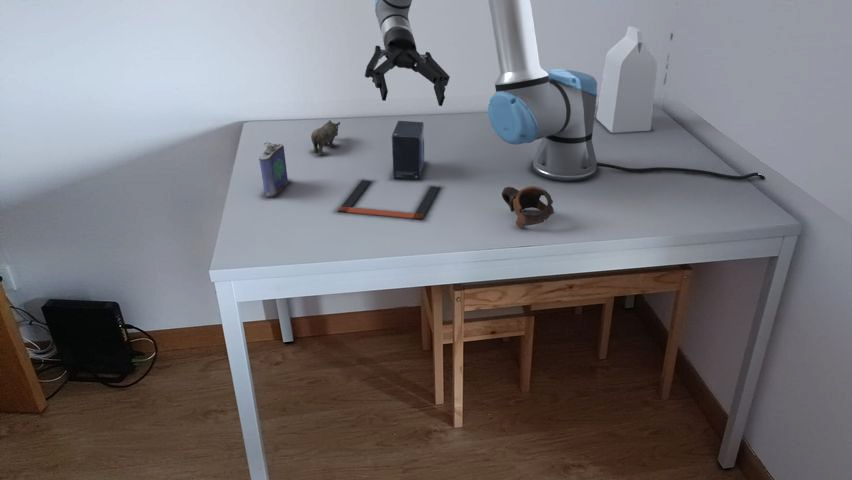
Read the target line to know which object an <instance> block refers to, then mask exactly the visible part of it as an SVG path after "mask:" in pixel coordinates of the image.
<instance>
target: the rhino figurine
mask: <svg viewBox="0 0 852 480" xmlns="http://www.w3.org/2000/svg"><path fill="white" fill-rule="evenodd" d="M339 125H341V121H338V122H336V123H335V122H333V121H332V120H331V119H329V120H328V121H327V122H326V123H324V124H323V125H322V126H321V127H319V128H316V129H314V130H313V131H312V132H311V134H310V135H311V136H310V139H311V143H312V144H313V153H317V156H325V152H323V149H324V146H329V147H330V148H335V147H336V145H335V144H334V140H335V138H336V137H337V136H339Z"/></svg>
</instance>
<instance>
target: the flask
mask: <svg viewBox="0 0 852 480" xmlns="http://www.w3.org/2000/svg"><path fill="white" fill-rule="evenodd" d="M263 145H265V146H266V147H265V150H264V151H263V152H262V153H261V155H259V158H258V160H259V166H260V172H261V179H262V185H263V191H264V192H263V193H264V197H266V198H273V197H275V196H277V195H278V193H280V192H281V191H282V190H283V188H284V187H285V186H287V185H288V184H289V179H288V178H289V177H288V171H287V162H286V154H285V146H284V144H283V143H271V142H270V141H266V142H265V141H264V144H263Z"/></svg>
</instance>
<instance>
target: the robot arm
mask: <svg viewBox="0 0 852 480" xmlns="http://www.w3.org/2000/svg"><path fill="white" fill-rule="evenodd" d="M487 1H488V7H489V12H490V13H489V14H490V20H491V25H492V32H493V37H494V38H493V39H494V44H495V48H496V49H495V50H496V56H497V64H498V69H499V76H498V77H497V79H496V80H495V82H494V87H495V93H493V95H492V96H491V98H490V99H489V103H488V106H487V115H488V120H489V122H490V125H491V127H492V129H493V131H494V132H495V133H496V135H497V136H499V137H500V139H501V140H502V141H504V142H505V143H507V144H509V145H516V146H518V145H522V144H530V143H533V142H535V141H536V140H537V141H538V140H540V142H539V144H538V146H537V149H536V152H535V155H534V156H533V160H532V169H533V171H534V172H535V173H536V174H538V175H539V176H540V177H543V178H546V179H549V180H553V181H559V182H579V181H584V180H589V179H590V178H592V177H594V176H595V175H596V173H597V170H598V169H597V167H602V168H609V169H614V170H618V171H623V172H631V173H643V172H644V173H645V172H660V171H661V172H663V171H665V172H681V173H682V172H684V173H693V174H700V175H701V174H702V175H708V176H713V177H717V178H723V179H729V180H746V179H749V178H753V177H759V178H760V179H762V180H766V177H765V176H764V175H763V174H762V175H763V176H762V175H758V173H759V172H751V173H748V174H744V175H731V174H725V173H720V172H715V171H709V170H703V169H694V168H686V167H685V168H684V167H670V166H669V167H668V166H665V167H664V166H657V167H655V166H654V167H640V168H639V167H638V168H634V167H633V168H631V167H625V166H621V165H620V166H619V165H615V164H610V163H603V162H598V161H597V157H596V153H595V148H594V144H593V133H594V132H593V131H594V124H595V115H596V107H597V99H598V82H597V81H598V80H597V79H596V78H595V77H594V76H593V75H591V74H588V73H586V72H581V71H578V70H571V69H564V68H563V69H561V68H558V69H557V68H554V69H549V70H548V71H545V70H544V69H543V68H542V66H541V64H540V58H539V57H540V56H539V52H538V51H539V50H538V43H537V37H536V30H535V23H534V15H533V9H532V2H531V0H487ZM412 2H413V0H375V1H374V13H375V16H376V19H377V22H378V26H379V30H380V35H381V39H382V42H383V46H384V49H382V48H381V46H380V45H375V47H374V51H373V55H372V57H371V58H370V60H369V62H368V63H367V65H366V69H365V72H364V77H365V78H366V79H368V78H372V80H371V81H372V83H374V87H375V88H376V89H379V92H380V97H381V101H382V102H383V101H384V102H386V100H387V96H388V93H389V90H388V87H387V83H386V78H385V74H387V73H388V72H389V71H390V70H393V69H394V68H396V67H397V68H398V69H407V70H412V71H413V72H414V73H418V74H419V75H421V76H423V78H425V79H426V80H428V81H429V82H430V83H432V85H433V90H434V93H435V98H436V101H437V103H438V106H439V107H443V104H444V101H445V98H446V97H445V91H446V87H447V86H448V84H449V81H450V78H451V77H450V75H449V74H448V73H447V72H446V71H445V70H444V68H442V67H441V66H440V64H438V63H437V61H435V59H434V58H433V57H432V54H431V53H430V52H429V51H425V53H424V54H421V53H419V51H418V49H417V44H416V41H415V37H414V35H413V30H412V27H411V23H410V20H409V12H410V9H411V6H412ZM383 57H385V58H386V59H385V60H384V61H383V62H382V63H380V64H379V65H378V63H379V61H380V60H381V59H382V58H383ZM377 65H378V66H377Z"/></svg>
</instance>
